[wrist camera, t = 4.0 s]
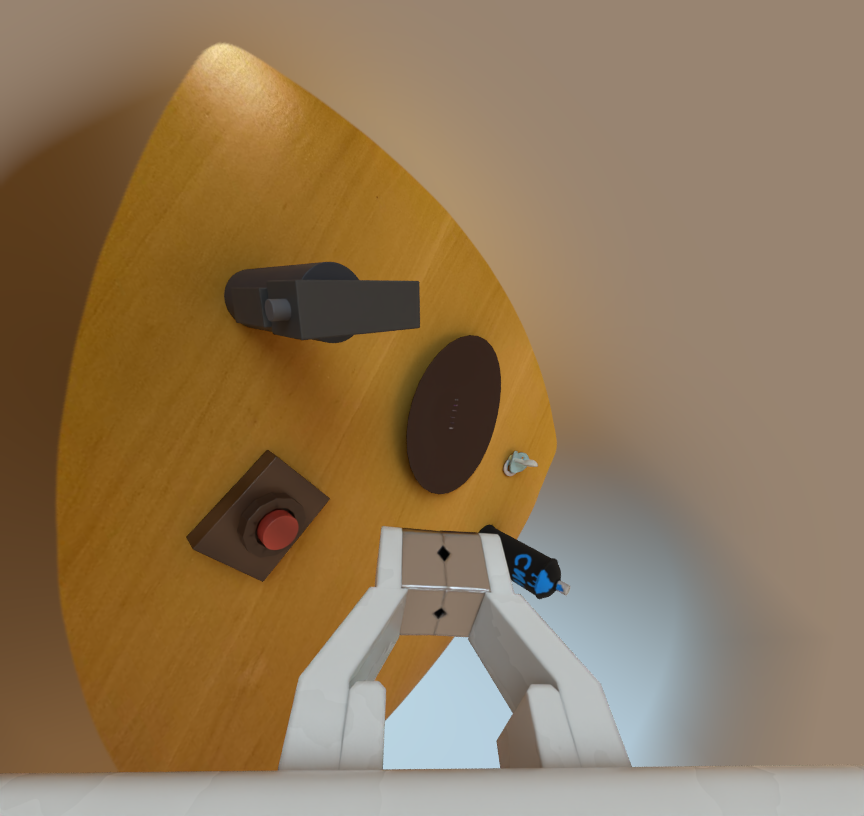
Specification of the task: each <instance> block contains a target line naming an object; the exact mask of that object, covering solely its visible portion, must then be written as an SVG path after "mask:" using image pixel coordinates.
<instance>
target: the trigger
mask: <svg viewBox="0 0 864 816" xmlns="http://www.w3.org/2000/svg"><path fill="white" fill-rule="evenodd" d="M231 293H232V300H233V306H234V312H235V318H236V322H237V323H242V324H247V325H253V326H258V327H264V328H269V327H272V323H271V321H269V320H268V318H267V316H266V313H265V302H266V300H267V299H268V293H267V288H231Z"/></svg>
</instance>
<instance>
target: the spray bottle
mask: <svg viewBox="0 0 864 816" xmlns="http://www.w3.org/2000/svg"><path fill="white" fill-rule="evenodd" d="M231 288H267V293H268V299H267V300H266V302H265V313H266V316H267V318H268V320H269V321H271V323H272V327H269V328H264V327H258V326H253V325H247V324H243V325H245V326H247V327H251V328H255V329H260V330H266V331H271V332H273V334H275V335H280V336H285V337H290V338H295V339H300V340H308V339H312V340H317V341H322V342H327V343H339V342H343V341H346V340H347V339H349V338H351V337H352V336H353V335H357V334H366V333H376V332H386V331H395V330H405V329H415V328H420V299H419V281H369V280H359V279H358V278H357V277H356V275H355V274H354V273H353V272H352V271H351V270H350V269H348V268H347V267H345V266H343V265H341V264H338V263H335V262H322V263H311V264H300V265H289V266H278V267H268V268H257V269H247V270H242V271H239V272H237V273H236V274H234V275H233V276H232V277H231V278H230V279H229V281H228V283H227V285H226V287H225V293H224V297H225V303H226V306H227V309H228V311H229V312H230V314H231V315H232V316H233V318H234V319H236V318H235V312H234V306H233V300H232V293H231ZM241 324H242V323H241Z"/></svg>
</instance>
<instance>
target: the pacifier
mask: <svg viewBox="0 0 864 816" xmlns="http://www.w3.org/2000/svg"><path fill="white" fill-rule="evenodd" d="M522 457H524V458H523V459H521V458H522ZM508 464H509V465H510V471H511V472H508V469H507V467H508ZM527 466H530V467H538V464H537V462H536V461H534V460H529V457H528V455H527V454H525V453H517V451H514V453H513V455H510V456H509V458H508V460H507V461H506V463H505V465H504V473H505V474H506V475H507V476H512V475H514V474H516V473H517V472H521V471H523V470H524V469H525V468H526V467H527Z"/></svg>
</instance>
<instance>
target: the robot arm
mask: <svg viewBox="0 0 864 816" xmlns="http://www.w3.org/2000/svg"><path fill="white" fill-rule="evenodd" d="M399 635H439V636H455V637H469V638H468V640H469V642H470V643H471V645H472V647H473V648H474V650H475V651H476V653H477V654H478V656H479V658H480V660H481V661H482V663H483V664H484V666H485V668H486V669H487V671H488V673H489V674H490V676H491V678H492V680H493V681H494V683H495V684H496V686H497V688H498V689H499V691H500V693H501V694H502V696H503V698H504V699H505V701H506V703H507V704H508V706H509V708H510V709H511V711H512V712H513V715H512V716H511V718H510V719H509V721H508V723H507V724H506V726H505V728H504V729H503V731H502V733H501V734H500V736H499V738H498V739H497V748H498V755H499V762H500V768H493V769H397V770H396V769H392V770H383V749H384V726H385V701H386V689H385V688H384V686H383V685H382V684H381V683H380V682H379V681H374V680H375V678H376V676H377V675H378V673H379V671H380V669H381V668H382V666H383V664H384V662H385V661H386V659H387V657H388V655H389V654H390V652H391V650H392V648H393V647H394V645H395V643H396V641H397V640H398V638H399ZM0 816H864V765H789V766H689V767H632V766H631V763H630V761H629V758H628V755H627V753H626V750H625V747H624V745H623V742H622V739H621V737H620V734H619V731H618V729H617V726H616V723H615V721H614V718H613V715H612V713H611V710H610V707H609V705H608V702H607V699H606V697H605V694H604V691H603V689H602V686H601V684H600V683H599V681H598V680H597V679H596V678H595V677H594V676H593V675H592V674H591V672H590V671H589V670H588V669H587V668H586V667H585V666H584V665H583V664H582V662H581V661H580V660H579V659H578V658H577V657H576V656H575V655H574V654H573V652H572V651H571V650H570V649H569V648H568V647H567V646H566V645H565V643H564V642H563V641H562V640H561V639H560V638H559V637H558V636H557V634H556V633H555V632H554V631H553V630H552V629H551V628H550V627H549V626H548V624H547V623H546V622H545V621H544V620H543V619H542V618H541V617H540V616H539V615H538V613H537V612H536V611H535V610H534V609H533V608H532V607H531V605H530V604H529V603H528V602H527V601H526V600H525V599H524V598H523V597H522V595H521V594H514V590H513V586H512V583H511V578H510V574H509V570H508V566H507V562H506V558H505V555H504V551H503V547H502V543H501V539H500V537H499V535H498V534H486V533H475V532H457V531H432V530H421V529H411V528H398V527H386V526H382V528H381V536H380V544H379V552H378V560H377V568H376V577H375V587H370V588H369V589H368V590H367V592H366V593H365V594H364V595H363V597H362V598H361V599H360V600H359V602H358V603H357V604H356V606H355V607H354V608H353V609H352V611H351V612H350V613H349V614H348V616H347V617H346V618H345V620H344V621H343V622H342V623H341V625H340V626H339V627H338V628H337V630H336V631H335V632H334V634H333V635H332V636H331V637H330V639H329V640H328V641H327V642H326V644H325V645H324V646H323V648H322V649H321V650H320V651H319V653H318V654H317V655H316V656H315V658H314V659H313V660H312V662H311V663H310V664H309V665H308V667H307V668H306V669H305V670H304V672H303V673H302V674H301V676H300V677H299V680H298V684H297V689H296V693H295V697H294V702H293V706H292V711H291V715H290V719H289V724H288V728H287V732H286V737H285V741H284V745H283V750H282V754H281V758H280V763H279V767H278V771H195V772H98V773H5V774H3V773H2V774H0Z"/></svg>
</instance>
